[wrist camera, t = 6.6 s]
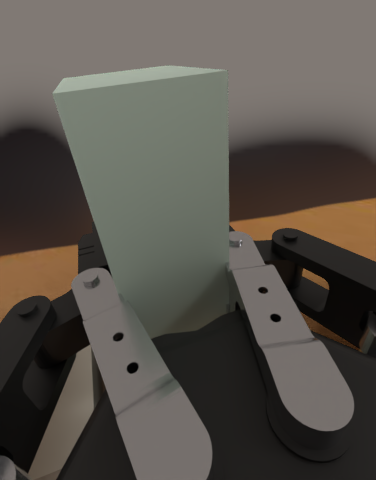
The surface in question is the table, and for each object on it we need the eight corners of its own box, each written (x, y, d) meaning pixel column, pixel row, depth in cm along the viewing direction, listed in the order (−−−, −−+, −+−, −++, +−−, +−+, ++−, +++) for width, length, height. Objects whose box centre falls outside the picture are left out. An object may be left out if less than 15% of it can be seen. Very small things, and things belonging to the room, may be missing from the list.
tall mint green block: (198, 340, 19) (168, 65, 10) (230, 415, 15) (228, 70, 6) (147, 358, 18) (63, 78, 9) (166, 441, 14) (52, 93, 5)
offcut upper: (99, 340, 17) (89, 319, 16) (108, 472, 12) (95, 455, 11) (20, 365, 16) (4, 345, 15) (-10, 522, 11) (-39, 508, 10)
